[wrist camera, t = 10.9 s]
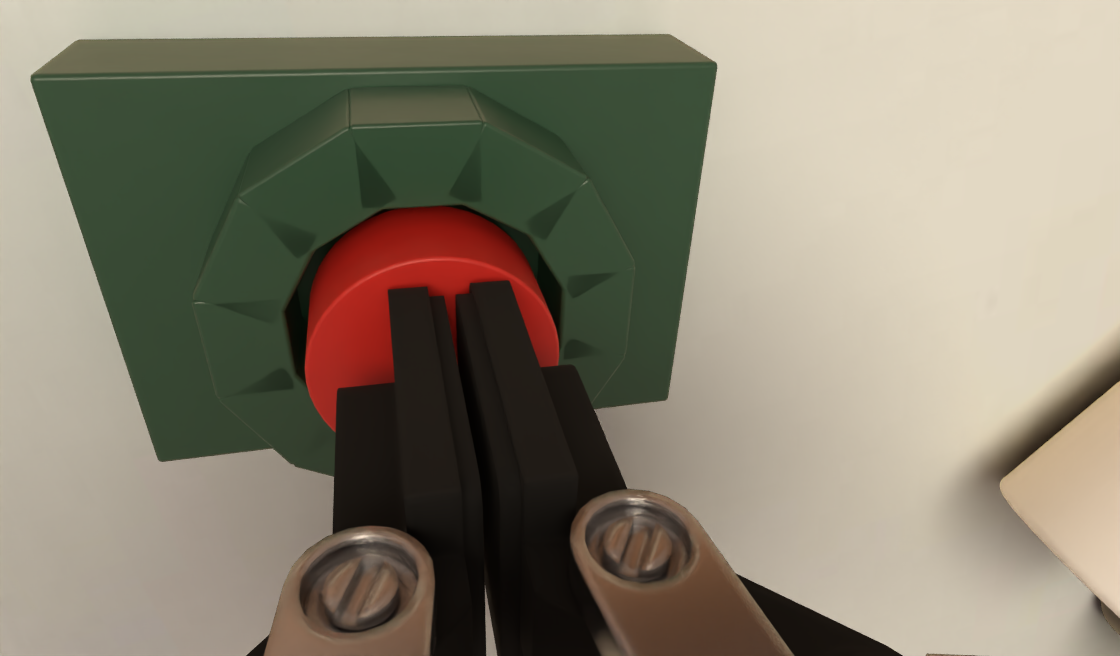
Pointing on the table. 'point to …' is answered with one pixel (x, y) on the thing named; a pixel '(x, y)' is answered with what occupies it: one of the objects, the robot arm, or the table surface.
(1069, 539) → the mug
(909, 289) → the table surface
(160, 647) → the table surface
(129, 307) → the button box
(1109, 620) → the supplement bottle
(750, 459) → the table surface
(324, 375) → the button
